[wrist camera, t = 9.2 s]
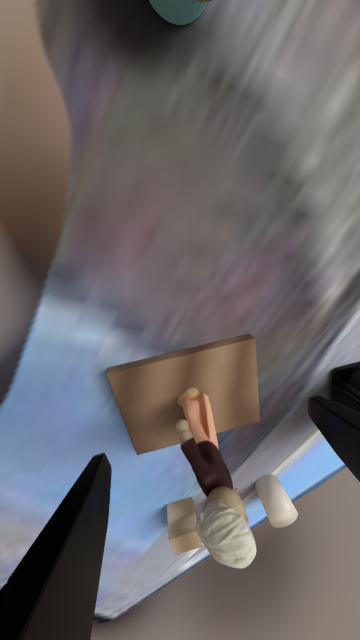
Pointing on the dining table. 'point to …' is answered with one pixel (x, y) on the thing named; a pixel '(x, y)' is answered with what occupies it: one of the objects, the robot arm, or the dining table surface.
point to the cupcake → (179, 10)
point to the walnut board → (177, 376)
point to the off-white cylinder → (275, 501)
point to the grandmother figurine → (214, 485)
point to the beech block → (183, 526)
